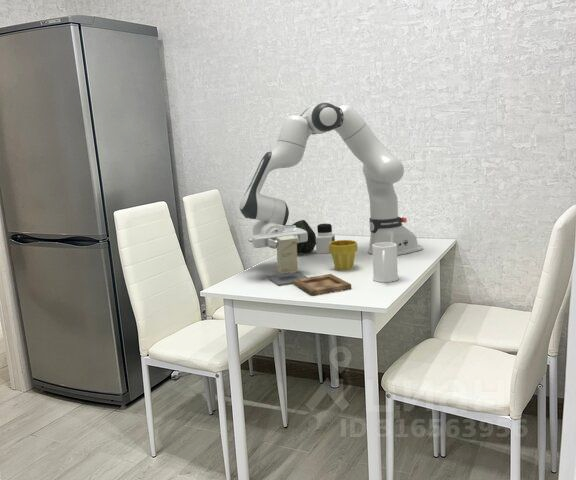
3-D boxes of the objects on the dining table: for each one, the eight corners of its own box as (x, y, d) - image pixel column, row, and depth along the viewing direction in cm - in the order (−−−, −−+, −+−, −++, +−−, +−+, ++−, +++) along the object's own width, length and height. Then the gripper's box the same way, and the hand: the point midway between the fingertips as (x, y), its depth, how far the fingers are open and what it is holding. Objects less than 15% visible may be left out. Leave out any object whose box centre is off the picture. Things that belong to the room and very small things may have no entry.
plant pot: (355, 272, 207) (353, 245, 205) (327, 271, 210) (325, 245, 208) (360, 265, 216) (359, 239, 214) (334, 264, 220) (332, 239, 218)
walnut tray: (330, 278, 201) (330, 273, 200) (351, 289, 186) (351, 284, 186) (293, 284, 196) (293, 279, 196) (311, 296, 181) (311, 291, 181)
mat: (298, 273, 210) (298, 271, 210) (311, 280, 199) (311, 279, 199) (267, 278, 206) (267, 276, 206) (278, 286, 195) (278, 284, 195)
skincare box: (281, 273, 200) (280, 240, 196) (277, 269, 204) (275, 237, 200) (298, 271, 202) (297, 237, 198) (293, 267, 206) (292, 234, 202)
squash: (271, 240, 247) (283, 216, 237) (298, 236, 255) (312, 213, 246) (286, 266, 240) (299, 242, 230) (314, 260, 249) (328, 237, 239)
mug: (395, 285, 186) (394, 249, 184) (369, 285, 189) (367, 249, 187) (400, 276, 197) (398, 241, 195) (375, 275, 200) (373, 241, 198)
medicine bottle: (333, 253, 239) (331, 225, 236) (316, 254, 240) (314, 225, 238) (335, 249, 246) (333, 222, 243) (318, 250, 247) (317, 222, 245)
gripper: (246, 231, 208) (257, 237, 195) (298, 224, 215) (313, 229, 202) (247, 248, 209) (258, 255, 197) (299, 241, 216) (314, 247, 203)
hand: (286, 242), depth 199 cm, fingers closed on skincare box, 6 cm apart
